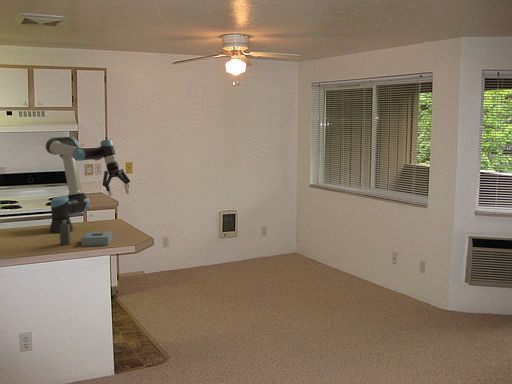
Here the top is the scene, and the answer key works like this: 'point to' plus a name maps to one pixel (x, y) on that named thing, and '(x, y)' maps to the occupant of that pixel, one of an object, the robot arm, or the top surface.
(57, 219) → the robot arm
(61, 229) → the gray bottle
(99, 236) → the socket
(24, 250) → the top surface
